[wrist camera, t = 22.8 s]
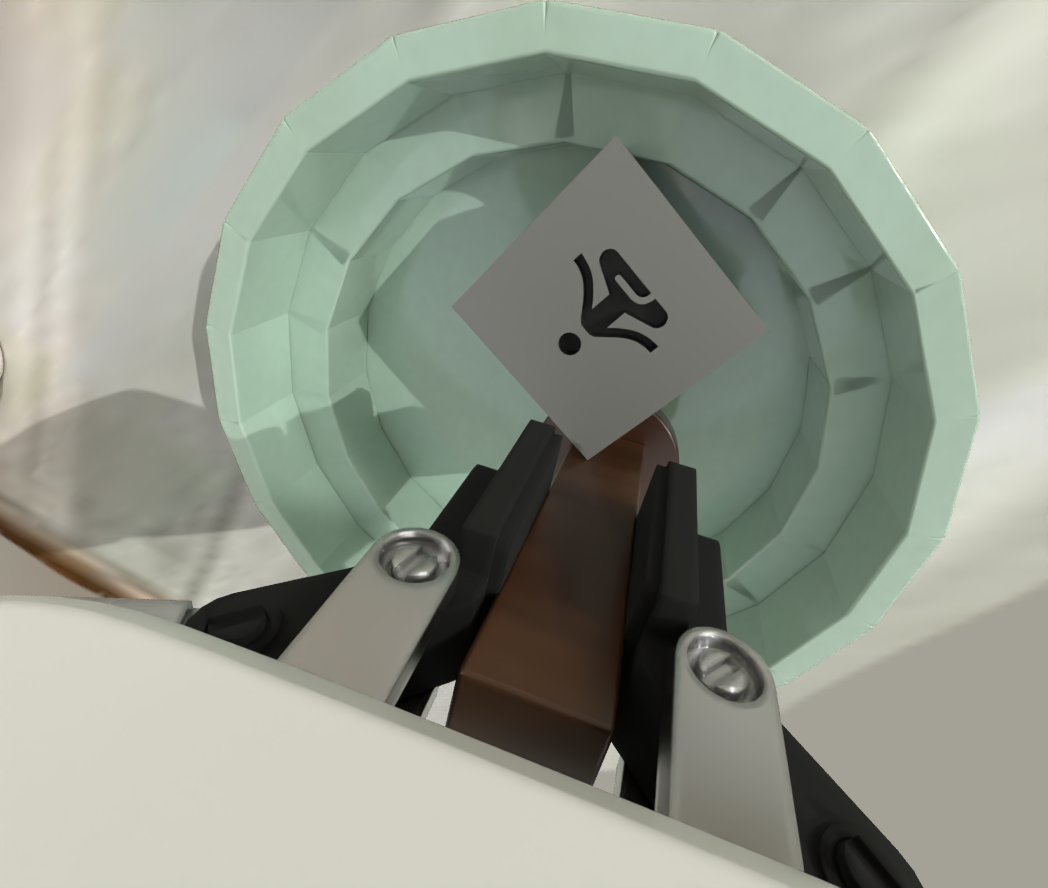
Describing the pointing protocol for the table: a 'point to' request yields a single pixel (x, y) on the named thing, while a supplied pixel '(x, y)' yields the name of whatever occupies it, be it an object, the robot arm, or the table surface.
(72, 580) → the table surface
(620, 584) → the muddler
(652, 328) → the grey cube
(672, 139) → the bowl
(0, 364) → the trinket box
